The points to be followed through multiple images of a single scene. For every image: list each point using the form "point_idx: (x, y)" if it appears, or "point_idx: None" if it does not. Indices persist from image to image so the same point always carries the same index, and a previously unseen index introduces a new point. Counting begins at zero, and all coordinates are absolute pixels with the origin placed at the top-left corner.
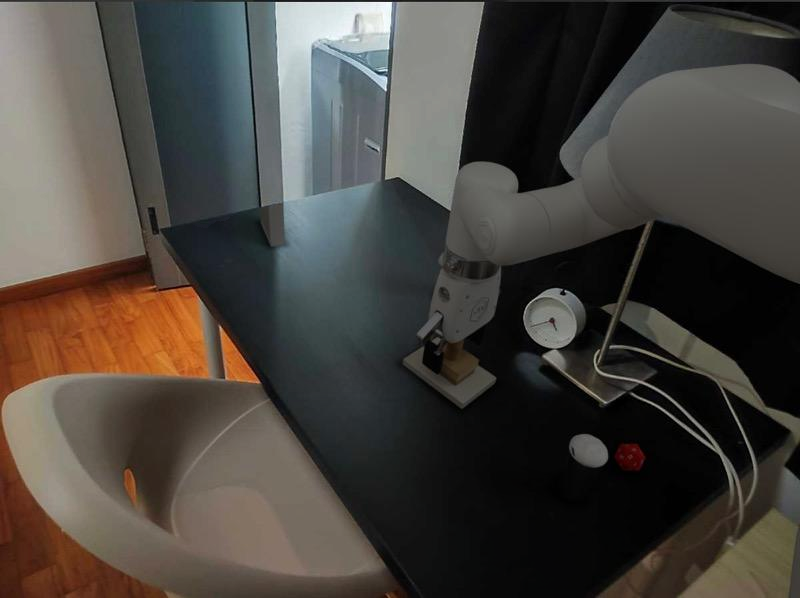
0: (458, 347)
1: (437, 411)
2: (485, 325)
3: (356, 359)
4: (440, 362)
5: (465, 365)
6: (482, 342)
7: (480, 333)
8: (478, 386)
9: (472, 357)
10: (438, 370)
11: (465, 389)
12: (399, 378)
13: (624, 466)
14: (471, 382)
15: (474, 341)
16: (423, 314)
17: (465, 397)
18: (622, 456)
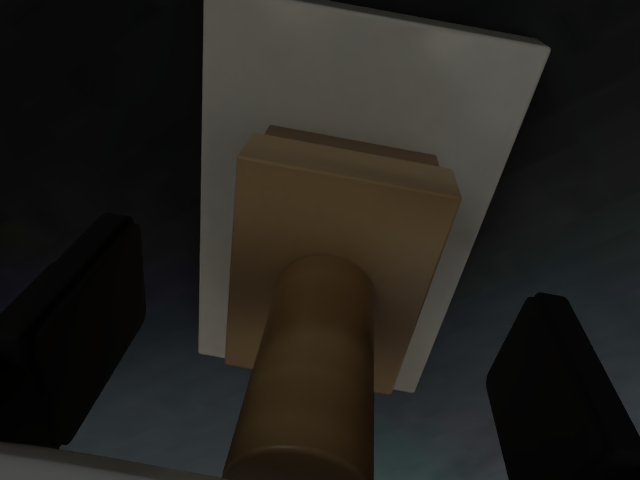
0: (350, 346)
1: (613, 139)
2: (3, 338)
3: (484, 469)
4: (609, 380)
5: (353, 201)
6: (101, 218)
7: (85, 293)
8: (353, 44)
9: (251, 199)
10: (576, 322)
11: (428, 97)
12: (491, 347)
13: None
14: (351, 97)
15: (137, 258)
16: (126, 415)
17: (491, 63)
18: None
